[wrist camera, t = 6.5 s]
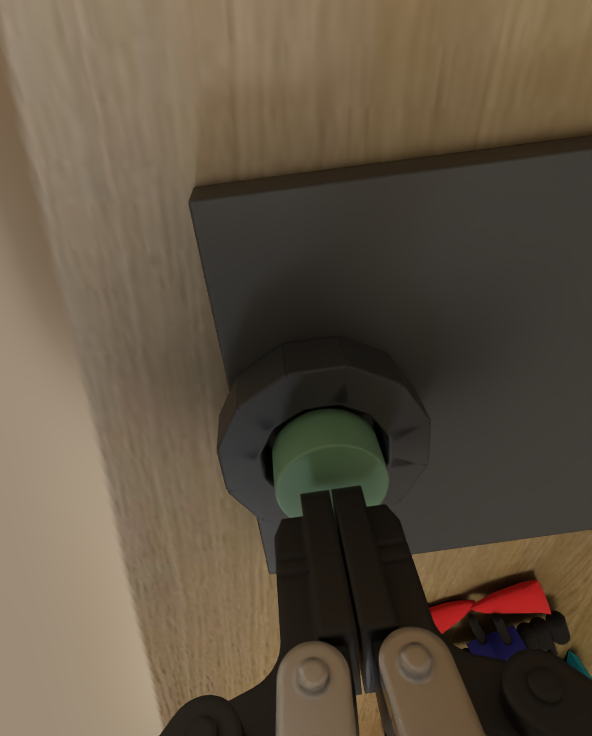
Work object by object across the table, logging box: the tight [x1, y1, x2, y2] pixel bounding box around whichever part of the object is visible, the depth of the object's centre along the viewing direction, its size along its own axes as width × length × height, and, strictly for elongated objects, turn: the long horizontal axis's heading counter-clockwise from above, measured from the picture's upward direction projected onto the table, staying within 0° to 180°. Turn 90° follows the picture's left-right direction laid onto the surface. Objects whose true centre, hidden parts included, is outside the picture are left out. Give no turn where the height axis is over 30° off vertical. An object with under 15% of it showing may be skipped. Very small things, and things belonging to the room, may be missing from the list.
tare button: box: [272, 408, 389, 518], centre depth 14 cm, size 3×3×2 cm
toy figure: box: [429, 580, 592, 680], centre depth 25 cm, size 8×5×15 cm
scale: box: [189, 136, 592, 574], centre depth 15 cm, size 16×14×3 cm
